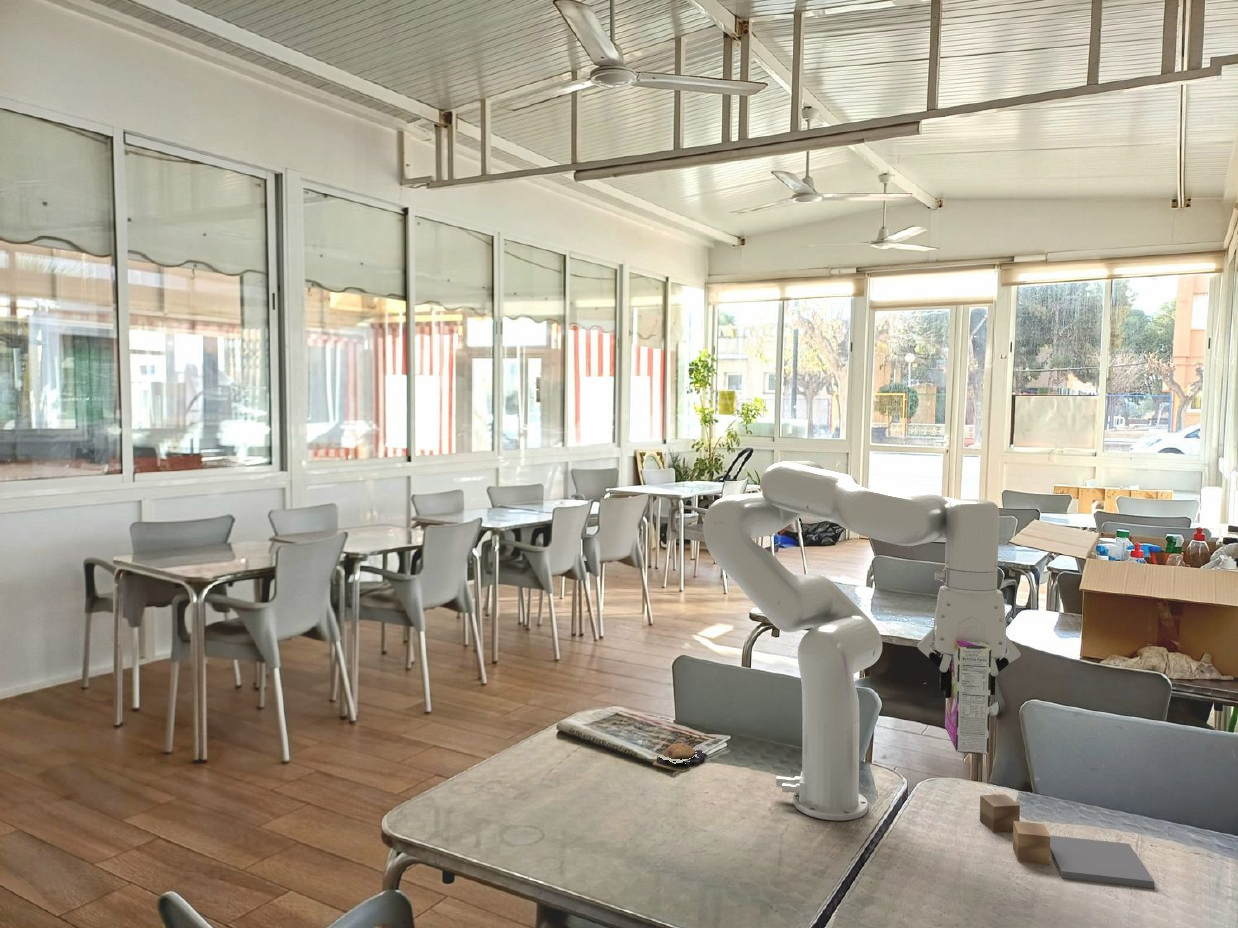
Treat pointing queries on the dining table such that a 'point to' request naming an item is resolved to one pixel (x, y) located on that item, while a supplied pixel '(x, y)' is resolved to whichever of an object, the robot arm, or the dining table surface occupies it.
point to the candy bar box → (969, 697)
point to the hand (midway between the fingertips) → (966, 696)
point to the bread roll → (680, 753)
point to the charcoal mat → (1098, 861)
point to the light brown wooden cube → (1031, 842)
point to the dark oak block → (998, 812)
